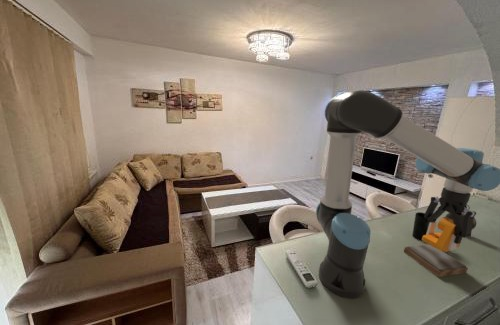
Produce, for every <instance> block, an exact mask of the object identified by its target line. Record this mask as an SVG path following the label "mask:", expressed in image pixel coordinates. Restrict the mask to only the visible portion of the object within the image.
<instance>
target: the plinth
mask: <svg viewBox="0 0 500 325" xmlns="http://www.w3.org/2000/svg"><path fill="white" fill-rule="evenodd" d="M403 253H404V254H406V255H407V256H409V257H410V258H411V259H412V260H414V261H415V262H416V263H418V264H419V265H421V266H422V267H423V268H425V269H426V270H427V271H429V272H430V274H432V275H434V276H435V277H436V278H440V277H447V276H455V275H461V274H467V272H468V269H469V268H468V267H467V266H466V264H464V263H463V262H461V261H459V260H458V259H455V258H454V257H453V256H451V255H449V254H447V253H446V252H444V251H440V250H438V249H436V248H435V247H433V246H431V245H429V244H421V245H420V244H419V245H410V246H405V247H404V249H403Z"/></svg>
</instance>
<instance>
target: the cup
mask: <svg viewBox="0 0 500 325" xmlns="http://www.w3.org/2000/svg"><path fill="white" fill-rule="evenodd" d="M424 214H425V212H419V211H418V212H415V214H414V215H415V217H414V223H413V230H412V237H413V238H414V239H415V240H417V241H420V242H423V241H422V237H423V235H426V233H427V230H428V228H427V223H428V219H427V218H425V217H424ZM434 222H437V219H436V220H435V221H434Z"/></svg>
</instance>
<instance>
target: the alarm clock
mask: <svg viewBox="0 0 500 325" xmlns="http://www.w3.org/2000/svg"><path fill="white" fill-rule="evenodd" d="M466 206H467V208H468V209H469V210H470V209H471V208H470V207H471V206H469V205H468V204H467V205H466ZM464 213H465V212H464V211H463V212H462V223H463V221H464V216H465V215H464ZM456 215H457V214H456ZM444 217H447V218H449V219H451V220H453V217H452V215H451V213H449V212H447V214H446V215H445V216H444ZM476 226H477V220H476V218H475V217H474V218H473V225H472V230H474V229H475V228H476Z"/></svg>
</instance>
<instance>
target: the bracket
mask: <svg viewBox="0 0 500 325" xmlns="http://www.w3.org/2000/svg"><path fill="white" fill-rule="evenodd" d="M455 226H456V225H455V224H454V222H453V220H451V219H449V218H447V217H445V216H443V217H441V218H440V220H439V221H438V223H437V229H438V230H441V231H442V232H438V231H437V232H434V233H432V234H428V235H423V237H422V241H421V242H424V243H425V244H426V245H431V246H433V247H435V248H436V249H438V250H440V251H443V252H445V253H446V252H449V251H451V250H449V249H448V246H449V243H450V240H451V237H452V234H455ZM460 245H461V243H460V244H457V246H456V248H458V247H460Z"/></svg>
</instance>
